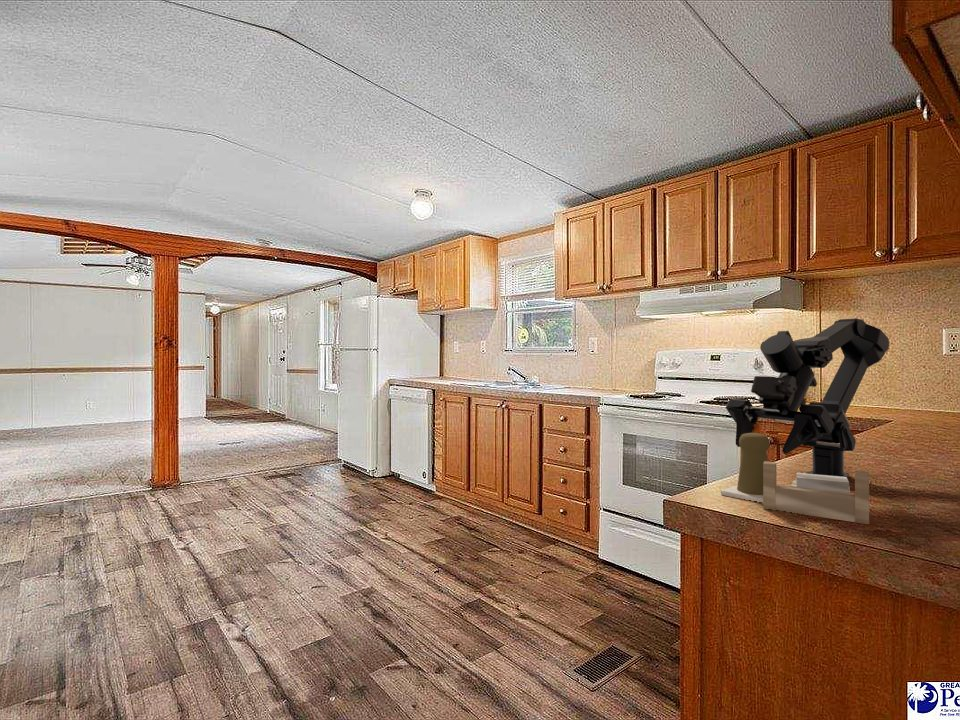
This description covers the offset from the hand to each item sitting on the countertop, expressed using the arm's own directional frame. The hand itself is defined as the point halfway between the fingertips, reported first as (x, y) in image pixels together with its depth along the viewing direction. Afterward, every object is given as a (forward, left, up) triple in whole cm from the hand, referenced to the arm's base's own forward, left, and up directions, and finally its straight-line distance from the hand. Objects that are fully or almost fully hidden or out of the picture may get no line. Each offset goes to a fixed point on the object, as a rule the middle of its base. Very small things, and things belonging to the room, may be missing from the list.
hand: (759, 448), depth 101 cm
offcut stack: (-6, +8, -9) cm, 13 cm away
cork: (+2, 0, -8) cm, 8 cm away
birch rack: (+7, +12, -9) cm, 16 cm away
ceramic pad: (+2, 0, -9) cm, 9 cm away
